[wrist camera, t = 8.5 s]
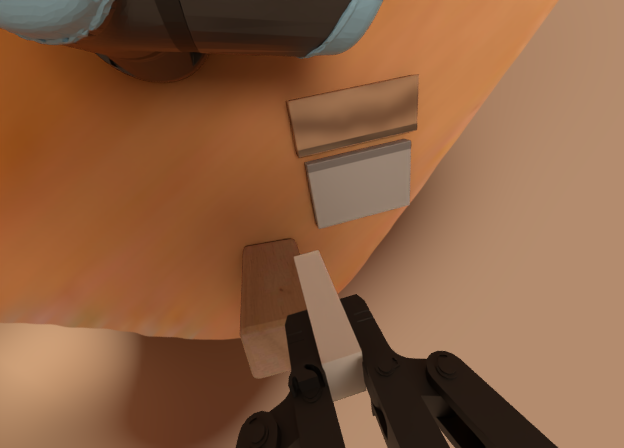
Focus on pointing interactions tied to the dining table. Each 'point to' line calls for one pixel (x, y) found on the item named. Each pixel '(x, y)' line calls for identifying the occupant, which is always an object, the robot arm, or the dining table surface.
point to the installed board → (354, 115)
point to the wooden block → (269, 304)
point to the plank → (360, 182)
